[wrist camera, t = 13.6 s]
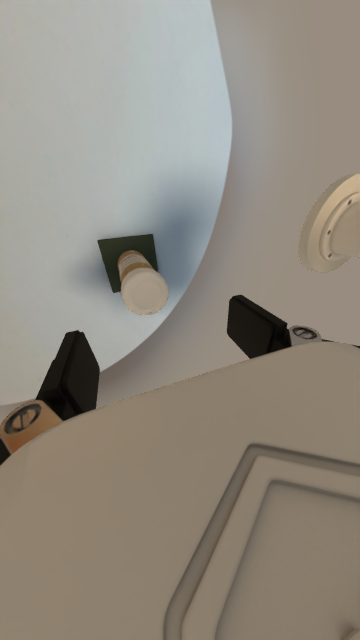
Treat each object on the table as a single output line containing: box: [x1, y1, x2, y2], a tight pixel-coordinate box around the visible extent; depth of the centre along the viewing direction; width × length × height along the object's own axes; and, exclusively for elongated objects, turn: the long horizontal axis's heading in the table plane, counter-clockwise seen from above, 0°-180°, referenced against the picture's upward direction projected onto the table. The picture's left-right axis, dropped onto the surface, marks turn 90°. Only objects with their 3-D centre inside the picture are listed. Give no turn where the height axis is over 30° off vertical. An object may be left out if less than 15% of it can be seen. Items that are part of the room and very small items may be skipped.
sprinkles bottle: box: [118, 250, 169, 315], centre depth 22 cm, size 5×5×14 cm
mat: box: [98, 234, 158, 293], centre depth 28 cm, size 8×8×1 cm
